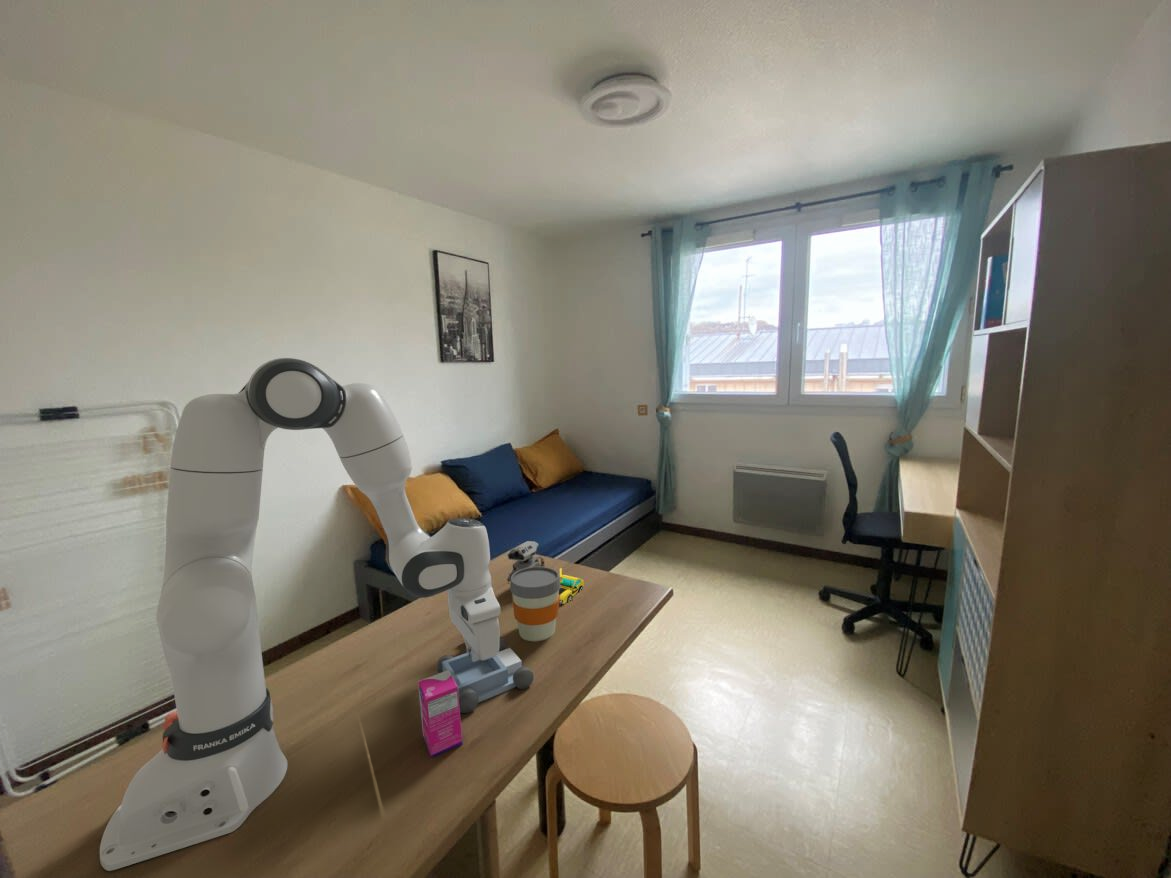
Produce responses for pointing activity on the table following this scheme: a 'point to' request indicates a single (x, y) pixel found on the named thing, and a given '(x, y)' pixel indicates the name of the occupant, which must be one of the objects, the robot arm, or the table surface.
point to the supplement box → (440, 712)
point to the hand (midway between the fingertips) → (473, 657)
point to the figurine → (524, 557)
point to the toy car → (569, 587)
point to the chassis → (485, 675)
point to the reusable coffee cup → (535, 601)
